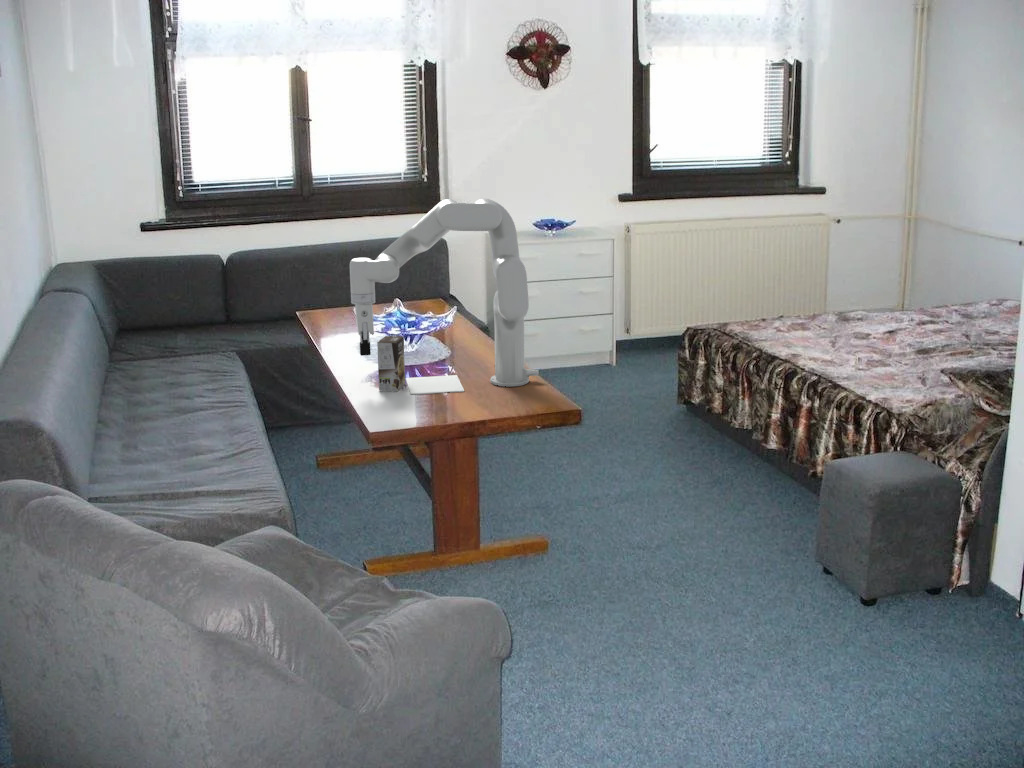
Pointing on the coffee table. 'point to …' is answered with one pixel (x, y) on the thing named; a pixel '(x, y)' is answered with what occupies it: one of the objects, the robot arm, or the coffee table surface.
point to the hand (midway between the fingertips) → (365, 354)
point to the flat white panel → (434, 384)
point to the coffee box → (391, 363)
